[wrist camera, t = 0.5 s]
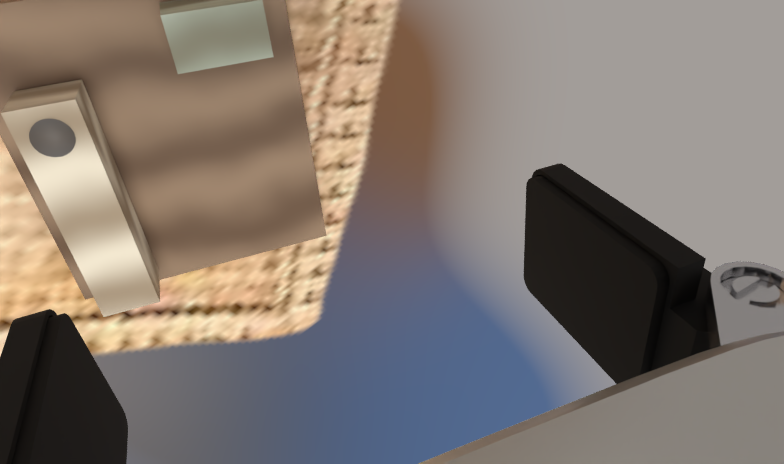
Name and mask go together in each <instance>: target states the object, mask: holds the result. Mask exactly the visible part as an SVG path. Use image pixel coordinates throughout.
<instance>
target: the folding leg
mask: <svg viewBox="0 0 784 464" xmlns="http://www.w3.org/2000/svg"><path fill="white" fill-rule="evenodd" d="M1 115H2V117H3V119H4V121H5V123H6V125H7V127H8V129H9V131H10V133H11V135H12V137H13V139H14V141H15V142H16V144H17V146H18V148H19V150H20V152H21V154H22V156H23V158H24V160H25V162H26V164H27V166H28V168H29V170H30V172H31V174H32V176H33V178H34V180H35V182H36V184H37V186H38V188H39V190H40V192H41V194H42V196H43V198H44V200H45V202H46V204H47V206H48V208H49V210H50V212H51V214H52V216H53V218H54V220H55V222H56V224H57V226H58V228H59V230H60V232H61V233H62V235H63V237H64V239H65V241H66V243H67V245H68V247H69V249H70V251H71V253H72V255H73V257H74V259H75V261H76V263H77V265H78V267H79V269H80V271H81V273H82V275H83V277H84V279H85V281H86V283H87V285H88V287H89V289H90V291H91V293H92V295H93V297H94V299H95V301H96V303H97V305H98V307H99V309H100V311H101V313H102V315H103V317H106V316H109V315H113V314H116V313H120V312H124V311H127V310H131V309H135V308H138V307H142V306H146V305H149V304H153V303H157V302H160V284H159V270H158V267H157V265H156V262H155V260H154V257H153V255H152V252H151V250H150V247H149V245H148V242H147V240H146V237H145V235H144V232H143V230H142V227H141V225H140V222H139V220H138V218H137V215H136V213H135V210H134V208H133V205H132V203H131V200H130V198H129V195H128V193H127V190H126V188H125V185H124V183H123V180H122V178H121V175H120V173H119V170H118V168H117V165H116V163H115V160H114V158H113V155H112V153H111V150H110V148H109V145H108V143H107V140H106V138H105V136H104V133H103V131H102V128H101V126H100V123H99V121H98V118H97V116H96V113H95V111H94V108H93V106H92V103H91V101H90V98H89V96H88V93H87V91H86V88H85V86H84V83H83V81H82V79H81V80H76V81H70V82H64V83H58V84H53V85H47V86H41V87H36V88H30V89H24V90H18V91H14V92H13V94H12V95H11V97H10V99H9V100H8V102H7V104H6V105H5V107H4V108H3V110H2V112H1Z"/></svg>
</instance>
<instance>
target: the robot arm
mask: <svg viewBox="0 0 784 464" xmlns="http://www.w3.org/2000/svg"><path fill="white" fill-rule="evenodd" d="M704 263H705V258H704V257H702V256H701V255H699V254H698V253H696V252H695V251H693V250H692V249H690V248H689V247H687V246H686V245H684V244H683V243H681V242H680V241H678V240H676V239H675V238H674V237H672V236H671V235H669V234H668V233H666V232H664V231H663V230H661V229H660V228H659V227H657V226H656V225H654V224H653V223H651V222H649V221H648V220H646V219H645V218H643V217H642V216H640V215H639V214H637V213H636V212H634V211H633V210H631V209H630V208H628V207H627V206H625V205H624V204H622V203H620V202H619V201H618V200H616V199H615V198H613V197H612V196H610V195H609V194H607V193H606V192H604V191H603V190H601V189H600V188H598V187H597V186H595V185H594V184H592V183H591V182H589V181H588V180H586V179H585V178H583V177H582V176H580V175H579V174H577V173H575V172H574V171H573V170H571V169H570V168H568V167H566V166H565V165H563V164H556V165H552V166H549V167H545V168H542V169H538V170H536V171H535V172H534V173H533V175H532V178H531V179H529V180H528V182H527V186H526V218H525V252H524V280H525V284H526V286H527V288H528V290H529V291H530V292H531V293H532V294H533V296H534V297H535V298H536V299H537V300H538V301H539V302H540V303H541V304H542V305H543V306H544V307H545V308H546V309H547V310H548V311H549V312H550V314H551V315H552V316H553V317H554V318H555V319H556V320H557V321H558V322H559V323H560V324H561V325H562V326H563V327H564V328H565V330H567V332H568V333H569V334H570V335H571V336H572V337H573V338H574V339H575V340H576V341H577V342H578V343H579V344H580V345H581V347H582V348H583V349H584V350H585V351H586V352H587V353H588V354H589V355H590V356H591V357H592V358H593V359H594V360H595V361H596V362H597V363H598V365H599V366H600V367H601V368H602V369H603V370H604V371H605V372H606V373H607V374H608V375H609V376H610V377H611V378H612V379H613V380H614V381H615V383H616V385H614V386H611V387H609V388H606V389H604V390H601V391H599V392H596V393H594V394H591V395H589V396H586V397H584V398H581V399H578V400H576V401H574V402H571V403H568V404H566V405H564V406H561V407H558V408H556V409H553V410H551V411H548V412H546V413H543V414H541V415H538V416H536V417H533V418H531V419H528V420H526V421H523V422H521V423H518V424H516V425H513V426H511V427H508V428H506V429H503V430H501V431H498V432H496V433H493V434H491V435H488V436H486V437H484V438H481V439H479V440H476V441H473V442H471V443H468V444H466V445H464V446H461V447H459V448H456V449H453V450H451V451H449V452H446V453H444V454H441V455H439V456H436V457H434V458H431V459H429V460H426V461H424V462H421V463H419V464H784V272H783V271H781V270H779V269H776V268H773V267H770V266H767V265H764V264H758V263H754V262H732V263H726V264H723V265H721V266H719V267H717V268H716V269H715V270H714V271H713V272H712V273H711V272H709V271H708V270H706V269H705V268H703V267H704ZM127 438H128V425H127V419H126V416H125V413H124V411H123V409H122V407H121V405H120V403H119V402H118V400H117V398H116V396H115V395H114V393H113V391H112V389H111V388H110V386H109V384H108V382H107V381H106V379H105V377H104V376H103V374H102V372H101V370H100V369H99V367H98V365H97V363H96V362H95V360H94V358H93V356H92V355H91V353H90V351H89V349H88V348H87V346H86V344H85V343H84V341H83V339H82V337H81V336H80V334H79V332H78V330H77V329H76V327H75V325H74V323H73V322H72V320H71V318H70V317H69V316H68V315H67V314H65V313H64V314H60V315H57V314H56V313H55V312H54V311H53V310H50V309H49V310H45V311H42V312H38V313H35V314H31V315H28V316H24V317H21V318H17V319H15V320H13V322H12V324H11V327H10V330H9V333H8V336H7V339H6V342H5V345H4V348H3V351H2V354H1V357H0V464H126V459H127V458H126V457H127Z"/></svg>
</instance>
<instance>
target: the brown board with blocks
mask: <svg viewBox="0 0 784 464" xmlns="http://www.w3.org/2000/svg"><path fill="white" fill-rule="evenodd" d="M81 79H82V81H83V83H84V86H85V88H86V91H87V93H88V96H89V98H90V101H91V103H92V106H93V108H94V111H95V113H96V116H97V118H98V121H99V123H100V126H101V128H102V131H103V133H104V136H105V138H106V140H107V143H108V145H109V148H110V150H111V153H112V155H113V158H114V160H115V163H116V165H117V168H118V170H119V173H120V175H121V178H122V180H123V183H124V185H125V188H126V190H127V193H128V195H129V198H130V200H131V203H132V205H133V208H134V210H135V213H136V215H137V218H138V220H139V222H140V225H141V227H142V230H143V232H144V235H145V237H146V240H147V242H148V245H149V247H150V250H151V252H152V255H153V257H154V260H155V262H156V265H157V267H158V270H159V280H161V279H164V278H168V277H172V276H176V275H179V274H183V273H187V272H191V271H194V270H198V269H202V268H206V267H210V266H213V265H217V264H221V263H225V262H228V261H232V260H236V259H240V258H244V257H247V256H251V255H255V254H259V253H262V252H266V251H270V250H274V249H278V248H281V247H285V246H289V245H293V244H296V243H300V242H304V241H308V240H311V239H315V238H319V237H323V236H326V231H325V226H324V220H323V214H322V208H321V203H320V197H319V191H318V186H317V180H316V174H315V168H314V163H313V157H312V151H311V146H310V140H309V134H308V128H307V123H306V117H305V111H304V106H303V100H302V94H301V88H300V83H299V77H298V71H297V66H296V60H295V54H294V48H293V43H292V37H291V31H290V26H289V20H288V14H287V8H286V3H285V0H0V136H1V138H2V140H3V142H4V143H5V145H6V147H7V149H8V151H9V153H10V155H11V157H12V159H13V161H14V163H15V165H16V167H17V169H18V170H19V172H20V174H21V176H22V178H23V180H24V182H25V184H26V186H27V188H28V190H29V192H30V194H31V196H32V197H33V199H34V201H35V203H36V205H37V207H38V209H39V211H40V213H41V215H42V217H43V219H44V221H45V223H46V224H47V226H48V228H49V230H50V232H51V234H52V236H53V238H54V240H55V242H56V244H57V246H58V248H59V250H60V251H61V253H62V255H63V257H64V259H65V261H66V263H67V265H68V267H69V269H70V271H71V273H72V275H73V277H74V278H75V280H76V282H77V284H78V286H79V288H80V290H81V292H82V294H83V296H84V298H85V299H89V298H93V295H92V293H91V291H90V289H89V287H88V285H87V283H86V281H85V279H84V277H83V275H82V273H81V271H80V269H79V267H78V265H77V263H76V261H75V259H74V257H73V255H72V253H71V251H70V249H69V247H68V245H67V243H66V241H65V239H64V237H63V235H62V233H61V232H60V230H59V228H58V226H57V224H56V222H55V220H54V218H53V216H52V214H51V212H50V210H49V208H48V206H47V204H46V202H45V200H44V198H43V196H42V194H41V192H40V190H39V188H38V186H37V184H36V182H35V180H34V178H33V176H32V174H31V172H30V170H29V168H28V166H27V164H26V162H25V160H24V158H23V156H22V154H21V152H20V150H19V148H18V146H17V144H16V142H15V141H14V139H13V137H12V135H11V133H10V131H9V129H8V127H7V125H6V123H5V121H4V119H3V117H2V115H1V112H2V110H3V108H4V107H5V105H6V104H7V102H8V100H9V99H10V97H11V95H12V94H13V92H14V91H18V90H24V89H30V88H36V87H41V86H47V85H53V84H58V83H64V82H70V81H76V80H81Z"/></svg>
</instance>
